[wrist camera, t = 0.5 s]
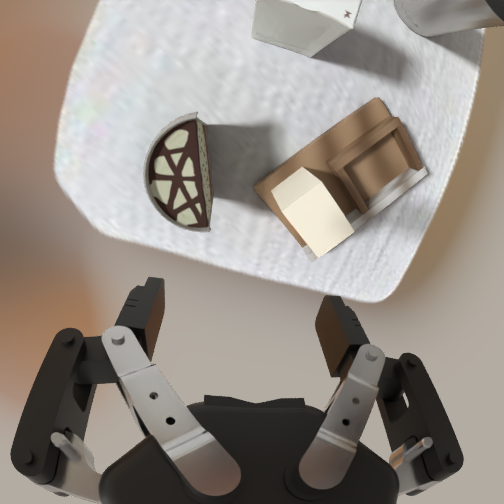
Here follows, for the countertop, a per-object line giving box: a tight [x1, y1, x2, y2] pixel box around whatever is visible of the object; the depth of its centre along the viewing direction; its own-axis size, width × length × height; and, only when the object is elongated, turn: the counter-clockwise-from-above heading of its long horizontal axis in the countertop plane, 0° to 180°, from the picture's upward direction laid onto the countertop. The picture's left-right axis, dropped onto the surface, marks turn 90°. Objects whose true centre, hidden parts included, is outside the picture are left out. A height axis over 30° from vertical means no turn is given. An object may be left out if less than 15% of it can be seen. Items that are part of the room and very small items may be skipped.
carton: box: [271, 167, 355, 258], centre depth 32 cm, size 5×7×8 cm
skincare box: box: [251, 0, 362, 57], centre depth 19 cm, size 8×6×15 cm
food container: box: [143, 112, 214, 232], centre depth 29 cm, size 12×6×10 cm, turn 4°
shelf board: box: [253, 98, 428, 262], centre depth 34 cm, size 21×12×4 cm, turn 129°
